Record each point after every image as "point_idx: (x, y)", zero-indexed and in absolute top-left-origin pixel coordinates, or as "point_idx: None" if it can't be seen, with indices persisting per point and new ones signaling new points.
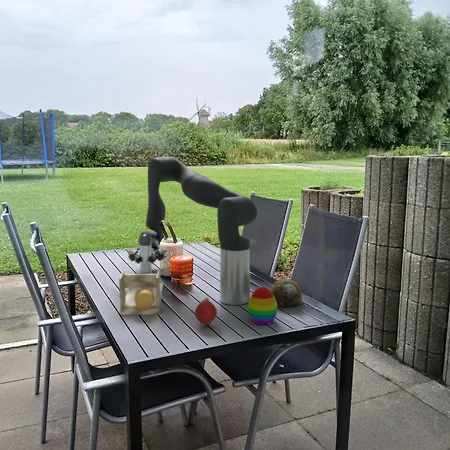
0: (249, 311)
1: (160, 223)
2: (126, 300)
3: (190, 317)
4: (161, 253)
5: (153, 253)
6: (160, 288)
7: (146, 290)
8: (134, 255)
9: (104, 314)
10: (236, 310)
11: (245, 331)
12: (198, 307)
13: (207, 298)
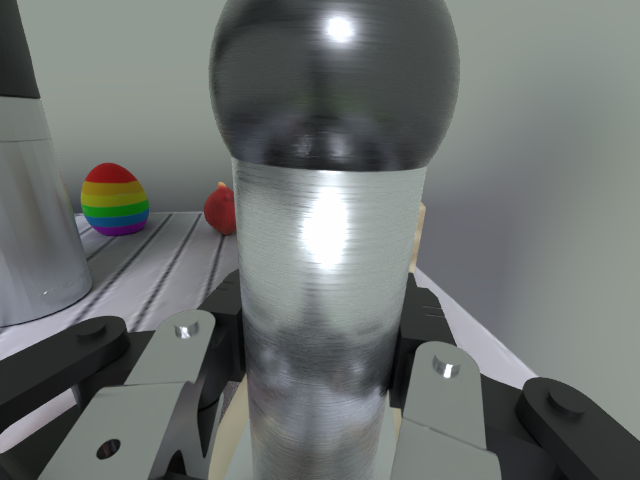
0: (146, 207)
1: None
2: None
3: (235, 254)
4: (61, 332)
5: (180, 350)
6: (228, 425)
7: None
8: (507, 402)
9: (441, 293)
10: (111, 259)
11: (182, 219)
12: None
13: (221, 182)
